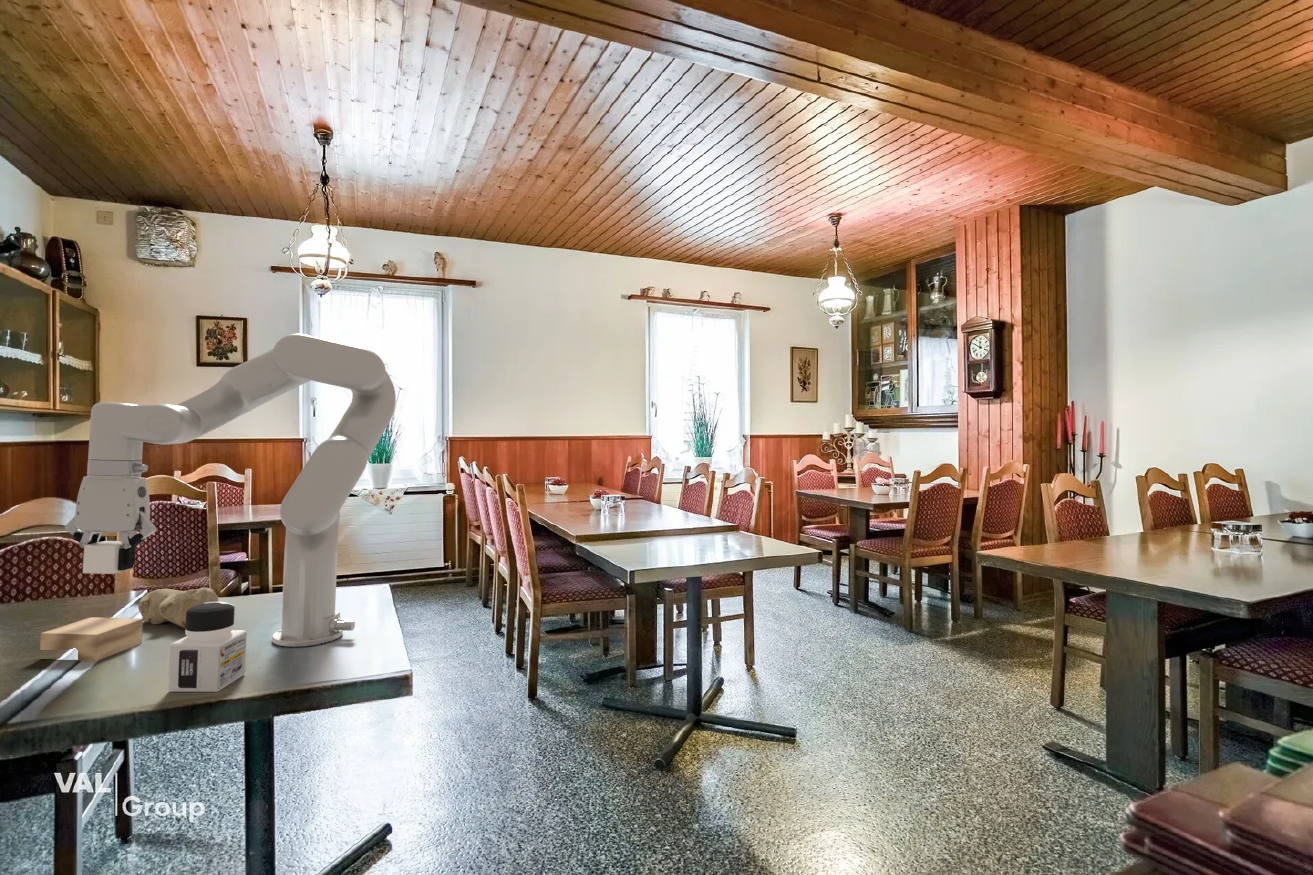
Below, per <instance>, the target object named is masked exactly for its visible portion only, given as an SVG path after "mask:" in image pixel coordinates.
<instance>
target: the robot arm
mask: <svg viewBox="0 0 1313 875" xmlns="http://www.w3.org/2000/svg"><path fill="white" fill-rule="evenodd" d="M310 381H312V382H315V383H320V384H321V383H322V384H325V385H329V386H333V387H334V386H335V387H340V388H344V389H348V390H350V391H351V393H352V399H351V402H350V404H349V406H348V407H347V409H346V410H345V412H344V414H343V415H342V417H341V419H340V421H338V422H339V423H338V424H337V426H335V429H334V430H333V432H331V434H330V435H329V437H328V439H326V440H324V441H323V442H321V443H320V444H318V446H317V447H316V448H315V450H314V451H313V452H312V454H311V455H310V457H309V459H308V460H307V462H306V463H305V465H304V466H303V467H302V469H301V471H300V472H299V474H298V476H297V478H296V479H295V481H294V482H293V483H292V486H290V489H289V490H288V491H287V493H286V495H285V496H284V497H283V499H282V502H281V505H280V508H279V517H280V520H281V522H282V524H283V526H284V527H285V539H284V558H283V559H284V560H283V576H282V577H283V580H282V605H281V606H282V607H281V629H279V630H277V631H275V632H274V633H273V634H272V636H271V642H272V643H273V644H275V645H276V646H281V647H290V648H291V647H292V648H295V647H296V648H297V647H298V648H299V647H310V646H317V645H321V643H322V644H326V643H329V641H330V642H332V641H335V640H338V639H339V638H340V637H341V636H342V635H343V634H342V633H343V632H344V631H348V632H350V631H351V632H352V631H354V629H355V627H356V622H355V620H354V618H342V617H341V612H340V611H336V599H337V597H336V596H337V594H336V593H337V591H336V590H337V567H338V564H337V563H338V552H339V551H338V549H339V547H338V546H339V532H340V531H339V530H340V529H339V528H340V514H341V509H342V508H343V506H344V504H345V503H346V501H347V499H348V498H349V496H350V495H351V493H352V492H353V490H354V488H355V487H356V485H357V483H358V482H359V480H360V479H361V477H362V476H363V474H364V471H365V469H366V467H367V464H368V460H369V459H370V457H371V455H372V454H373V451H375V448H376V447H377V445H378V444H379V442H380V440H381V438H382V437H383V434H384V433H385V431H386V429H387V427H388V426H389V424H390V422H391V420H392V418H393V415H394V413H395V408H396V402H397V398H396V397H397V395H396V388H395V386H394V384H393V381H392V379H391V377H390V375H389V373H388V372H387V371H386V366H385V362H384V361H383V359H382V358H381V357H380V355H378V354H377V353H376V352H373V351H372V350H369V349H367V348H363V347H360V346H359V347H358V346H354V345H350V344H347V343H341V342H337V341H333V340H328V339H325V338H324V339H323V338H320V337H316V336H311V335H308V334H305V333H304V334H303V333H291V334H287V335H285V336H283V337H281V338H280V339H279V340H278V341H277V342H276V343H275V345H274V346H273V348H272V349H270V350H268V351H266V352H264V353H262V354H258V355H257V356H256V357H253V358H251V359H249V360H247V361H244V362H242V363H240V364H239V365H236V366H233V367H231V368H230V369H229V370H227V371H226V372H225V373H224V374H223V375H222V376H221V378H220V379H219V381H218V382H216V383H215V384H214V385H212V386H211V387H210V388H208V389H206V390H204V391H203V392H200V393H199V394H196V395H195V396H193V397H190V398H188V399H185V400H184V401H182V402H180V403H178V404H168V403H159V404H158V403H157V404H135V403H127V402H113V401H102V402H101V401H99V402H97V403H95V404H94V405H92V407H91V412H90V425H89V439H88V440H89V443H88V453H87V454H88V455H87V458H88V459H87V469H86V470H87V471H86V474H87V475H86V476H83V477H82V480H81V483H80V487H79V490H78V494H77V498H76V504H75V513H74V516H73V517H72V518H71V519H70V521H68V523H67V524H65V525H64V530H65V531H66V532H67V533H68V534H70V535H72V536H73V538H74V539H75V540H76V541H77V542H78V543H79V547H80V548H82V549H83V551H82V560H83V559H84V545H88V544H93V543H98V542H100V539H101V536H102V533H118V534H119V539H120V541H121V543H122V547H123V548H121V549H119V560H118V570H119V571H122V572H124V571H123V570H125V571H128V570H127V569H129V570H131V569H130V568H133V569H134V566H135V565H134V564H135V562H136V552H137V551H136V549H137V547H139V546H140V544H141V543H142V542H143V541H145V539H147V537H150V536H151V535H153V534H155V533H156V531H157V527H156V525H154V523H153V522H152V521H151V504H150V492H149V486H148V480H147V478H146V477H142V474H143V473H146V472H148V470H149V466H148V465H147V464H143V451H144V450H143V449H144V447H143V446H144V443H149V444H155V445H156V444H157V445H177V444H179V445H180V444H181V445H182V444H186V443H189V442H192V441H193V440H196V439H199V438H200V437H202V436H205V435H206V434H208V433H210V432H212V431H214V430H216V429H219V428H220V427H222V426H224V425H227V423H230V422H231V421H233V420H235V419H237V418H238V417H241V416H243V415H245V414H248V413H249V412H251V411H252V410H254V409H256V408H258V407H260V406H262V405H264V404H265V403H268V402H269V401H272V400H273V399H276V398H277V397H279V396H281V395H284V394H285V393H288V392H289V391H292V390H293V389H296V388H298V387H299V386H302V385H304V384H306V383H309V382H310ZM139 530H141V531H140V532H138V531H139ZM325 642H326V643H325Z"/></svg>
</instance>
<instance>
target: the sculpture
mask: <svg viewBox="0 0 1313 875" xmlns="http://www.w3.org/2000/svg"><path fill="white" fill-rule="evenodd" d="M138 601H139V602H138V604H137V608H138V611H139V613H140V615H141V617H142V618H141V619H143V622H144V623H150V624H152V625H160V624H163V623H167V622H170V623H172V624H175V625H177V626H180V627H182V628H183V629H185V630H186V611H187V610H188V609H189V608H191V607H193V606H195V605H198V604H202V603H208V602H219V598H218V595H217V593H216V592H215V591H214V589H213V588H209V587H200V588H197V589H193V588H191V589H188V590H178V589H171V588H160V589H159V588H156V589H155V590H152V591H150V592H148V593H147V594H145V595H144V596H143V597H141V598H140V600H138Z"/></svg>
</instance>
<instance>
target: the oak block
mask: <svg viewBox="0 0 1313 875" xmlns="http://www.w3.org/2000/svg"><path fill="white" fill-rule="evenodd" d="M143 622H144V621H143V619H142V618H131V617H129V618H126V617H123V618H122V617H96V616H95V617H88V618H84V619H81V620H79V621H78V620H77V621H75V622H72V623H69V624H66V625H61V626H59V627H56V628H53V629H50V630H46V631H43V632H41V633H40V643H39V644H40V646H39V651H40V650H67V649H73V648H76V649H77V650H78V660H79V661H78V662H81V661H82V662H98V661H101V660H103V659H105V658H108V657H111V656H113V655H115V654H118V653H121V652H123V651H126V650H129V649H131V648H134V647H136V646H138V645H140V644H143V625H144V624H143Z"/></svg>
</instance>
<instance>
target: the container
mask: <svg viewBox="0 0 1313 875" xmlns="http://www.w3.org/2000/svg"><path fill="white" fill-rule="evenodd" d="M234 628H235V605H234V604H232V603H231V602H230V603H229V602H226V601H218V602H208V603H202V604H198V605H195V606H193V607H191V608H189V609H188V610H187V611H186V629H185V630H184V632H185V635H186V636H184V637H182V638H180V639H178V640H176V641H174V642H172V643H171V644H170V645H169V661H168V662H169V664H168V686H167V687H168V689H167V690H168V692H170V693H171V692H172V693H173V692H175V693H176V692H177V693H181V692H183V693H218V692H219V691H221V690H223V689H225V688H226V687H227V686H229V685H230V684H232V683H233V682H235V681H236V680H237V681H238V679H240V678H241V677H243V676H245V674H246V659H247V658H246V657H247V656H246V653H247V652H246V651H247V633H248V632H247V631H246V630H245V629H243V630H242V629H234Z"/></svg>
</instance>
